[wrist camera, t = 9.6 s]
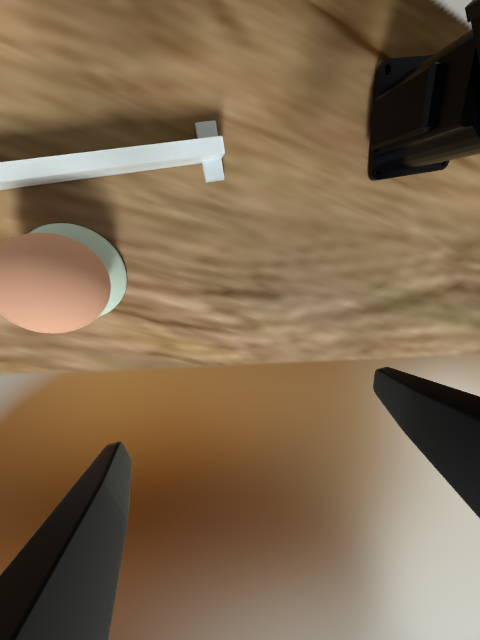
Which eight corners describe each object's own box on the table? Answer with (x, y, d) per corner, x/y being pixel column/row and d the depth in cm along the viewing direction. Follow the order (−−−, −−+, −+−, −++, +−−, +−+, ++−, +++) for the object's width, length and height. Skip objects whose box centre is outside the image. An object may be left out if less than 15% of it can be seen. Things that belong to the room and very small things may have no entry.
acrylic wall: (214, 123, 14) (218, 110, 13) (223, 180, 16) (228, 175, 14) (-87, 157, 12) (-133, 147, 10) (-49, 219, 14) (-84, 219, 12)
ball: (101, 223, 15) (65, 225, 10) (130, 303, 17) (113, 336, 12) (4, 238, 14) (-88, 248, 9) (48, 320, 16) (-5, 363, 12)
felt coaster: (106, 215, 15) (105, 215, 15) (139, 307, 18) (138, 308, 18) (-4, 232, 14) (-8, 232, 14) (48, 326, 17) (46, 328, 17)
